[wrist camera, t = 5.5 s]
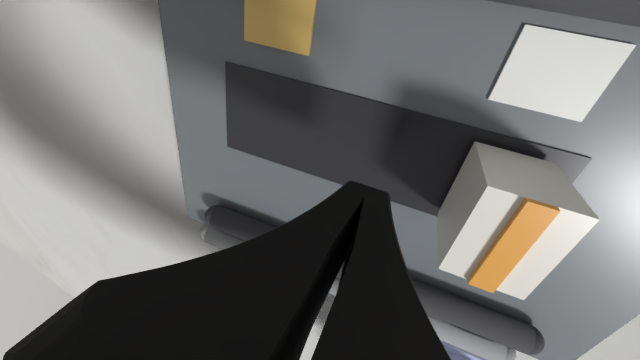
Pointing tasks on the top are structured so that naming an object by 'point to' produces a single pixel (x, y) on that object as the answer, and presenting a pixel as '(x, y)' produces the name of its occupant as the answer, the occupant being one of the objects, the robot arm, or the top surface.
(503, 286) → the white orange striped block
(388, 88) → the panel
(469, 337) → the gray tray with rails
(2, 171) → the top surface
